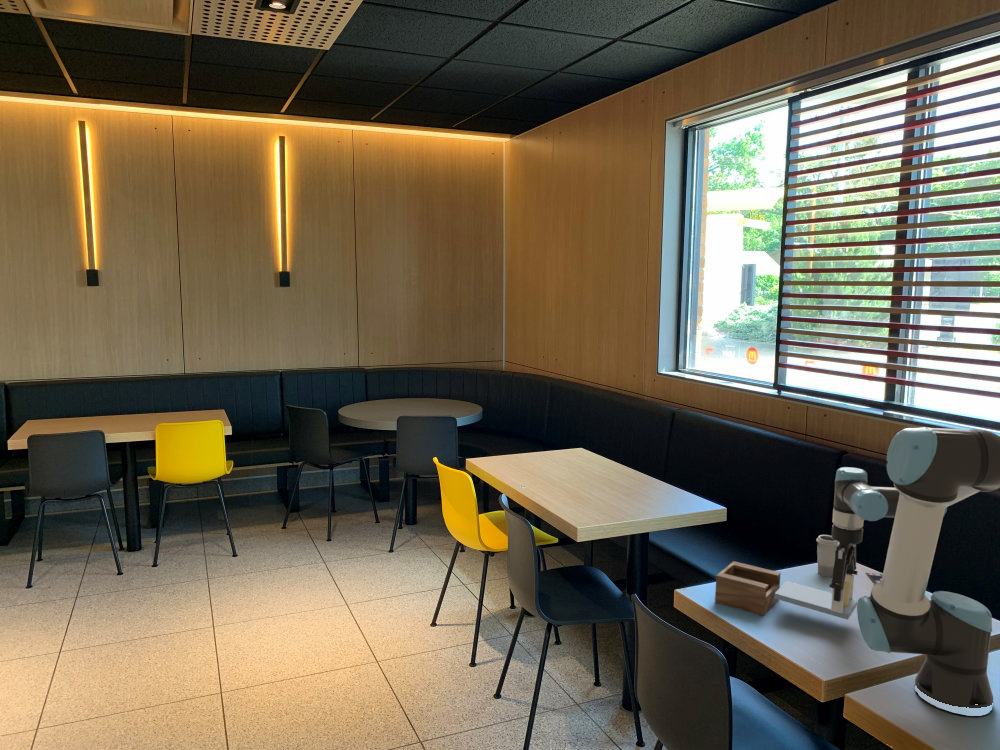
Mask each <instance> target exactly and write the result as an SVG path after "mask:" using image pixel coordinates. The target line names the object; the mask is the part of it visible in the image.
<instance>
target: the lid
mask: <svg viewBox="0 0 1000 750" xmlns="http://www.w3.org/2000/svg"><path fill="white" fill-rule="evenodd" d="M850 587H851V579H847V578H845V582H844V602H843V613H838V612H834V611H831V605H832V592H829V591H825V590H820V589H818V588H815V587H811V586H806V585H803V584H799V583H795V582H792V581H789V580H785V581H784V583H783V584H782V585H780V588H779V589H778V590H777V591H776V593H775V596H774V598H775V599H778V601H782V602H785V603H789V604H791V605H795V606H798V607H799V606H800V607H803V608H806V609H809V610H813V611H817V612H820V613H823V614H826V615H830V616H834V617H838V618H841V619H844V620H848V621H849V619H850V617H851V616H852V614H853V613H854V611H855V609H857V603H858V600H857V599H855V598H852V599H851V598H849V595H850Z"/></svg>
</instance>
